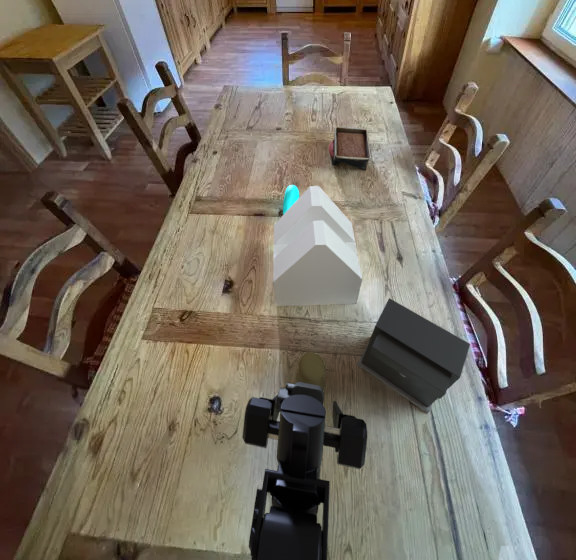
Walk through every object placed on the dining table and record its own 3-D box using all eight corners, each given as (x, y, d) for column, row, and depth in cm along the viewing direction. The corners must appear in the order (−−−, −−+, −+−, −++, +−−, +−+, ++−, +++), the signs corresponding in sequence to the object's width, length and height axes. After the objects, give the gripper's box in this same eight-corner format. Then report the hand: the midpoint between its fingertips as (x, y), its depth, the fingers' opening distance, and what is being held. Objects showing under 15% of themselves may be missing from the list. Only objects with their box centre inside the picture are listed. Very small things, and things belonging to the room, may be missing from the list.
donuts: (289, 200, 106) (288, 177, 99) (321, 204, 104) (323, 181, 97) (282, 225, 99) (281, 202, 92) (316, 230, 97) (318, 207, 90)
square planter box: (369, 150, 125) (371, 125, 119) (370, 177, 111) (373, 151, 105) (330, 148, 128) (330, 124, 122) (326, 176, 113) (326, 150, 108)
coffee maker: (423, 426, 64) (457, 399, 50) (351, 376, 70) (364, 339, 56) (439, 379, 70) (474, 343, 56) (371, 336, 76) (387, 294, 62)
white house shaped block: (275, 306, 81) (269, 246, 64) (276, 251, 92) (270, 187, 75) (356, 303, 81) (371, 243, 64) (346, 249, 92) (357, 184, 75)
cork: (330, 391, 69) (334, 374, 61) (303, 405, 67) (304, 389, 59) (316, 361, 73) (318, 341, 65) (290, 374, 71) (290, 355, 63)
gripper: (376, 425, 44) (366, 363, 60) (238, 396, 47) (262, 344, 62) (367, 511, 44) (359, 426, 60) (229, 478, 47) (255, 405, 62)
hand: (308, 398), depth 61 cm, fingers open, 9 cm apart
